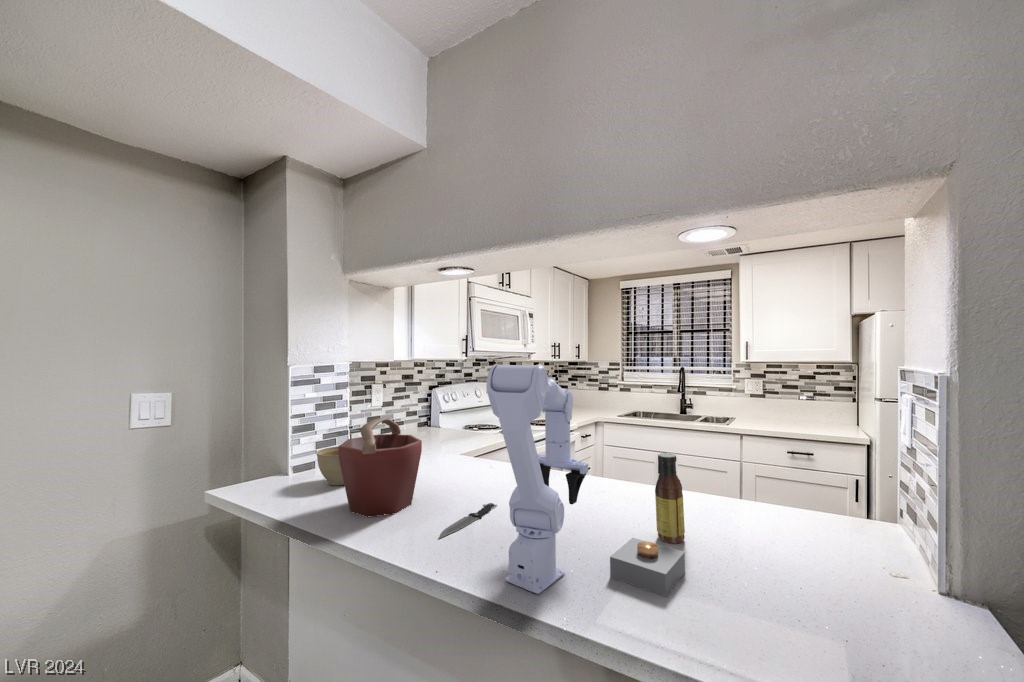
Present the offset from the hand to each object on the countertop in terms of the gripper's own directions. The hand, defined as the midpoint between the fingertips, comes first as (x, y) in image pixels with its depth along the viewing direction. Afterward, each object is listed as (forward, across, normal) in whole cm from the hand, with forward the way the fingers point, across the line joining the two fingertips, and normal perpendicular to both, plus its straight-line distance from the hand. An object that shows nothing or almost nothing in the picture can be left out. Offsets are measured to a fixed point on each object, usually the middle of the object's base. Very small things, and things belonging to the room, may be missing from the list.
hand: (558, 499), depth 101 cm
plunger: (+10, -21, 0) cm, 24 cm away
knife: (+11, +27, +3) cm, 29 cm away
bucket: (+11, +55, +10) cm, 57 cm away
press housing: (+10, -21, 0) cm, 23 cm away
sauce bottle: (+11, -19, -18) cm, 29 cm away
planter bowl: (+11, +85, +4) cm, 86 cm away
